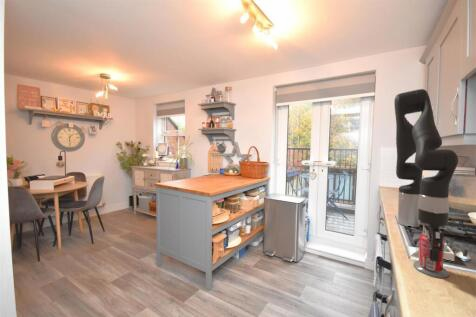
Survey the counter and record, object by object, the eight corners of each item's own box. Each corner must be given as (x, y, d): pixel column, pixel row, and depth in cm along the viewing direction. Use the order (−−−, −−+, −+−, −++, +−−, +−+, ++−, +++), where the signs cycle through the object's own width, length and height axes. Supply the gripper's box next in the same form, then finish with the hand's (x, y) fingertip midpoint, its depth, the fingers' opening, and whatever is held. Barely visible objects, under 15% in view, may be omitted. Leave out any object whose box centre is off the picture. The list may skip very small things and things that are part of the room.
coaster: (411, 260, 79) (411, 258, 79) (444, 267, 75) (444, 265, 74) (415, 272, 72) (415, 270, 72) (452, 281, 67) (452, 279, 67)
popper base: (424, 249, 87) (425, 242, 87) (448, 253, 83) (448, 246, 83) (428, 257, 81) (429, 249, 81) (454, 262, 77) (454, 254, 77)
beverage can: (435, 264, 75) (437, 231, 75) (447, 274, 69) (449, 239, 69) (414, 261, 77) (416, 229, 76) (424, 271, 71) (426, 236, 70)
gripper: (414, 202, 80) (413, 244, 81) (423, 212, 68) (421, 261, 69) (442, 204, 76) (439, 248, 77) (455, 216, 64) (453, 268, 65)
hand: (430, 254), depth 73 cm, fingers open, 8 cm apart
